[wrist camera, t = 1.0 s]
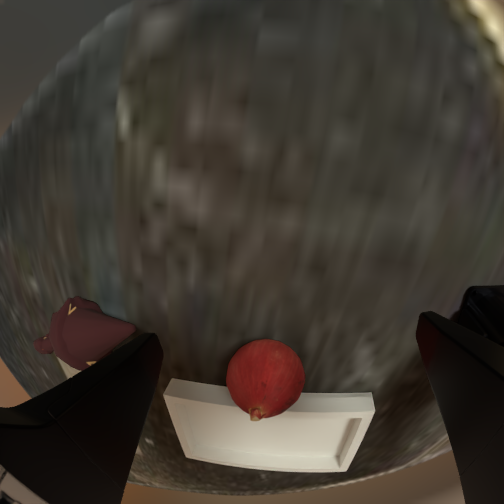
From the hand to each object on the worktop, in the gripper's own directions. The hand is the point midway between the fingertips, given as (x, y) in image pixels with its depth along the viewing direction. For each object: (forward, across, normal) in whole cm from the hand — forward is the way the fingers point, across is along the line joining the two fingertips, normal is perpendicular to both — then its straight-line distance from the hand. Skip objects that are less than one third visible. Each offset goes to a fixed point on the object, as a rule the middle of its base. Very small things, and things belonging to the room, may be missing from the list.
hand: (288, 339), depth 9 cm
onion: (+12, +2, +10) cm, 16 cm away
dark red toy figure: (+13, +19, +7) cm, 24 cm away
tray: (+12, +3, +22) cm, 25 cm away
